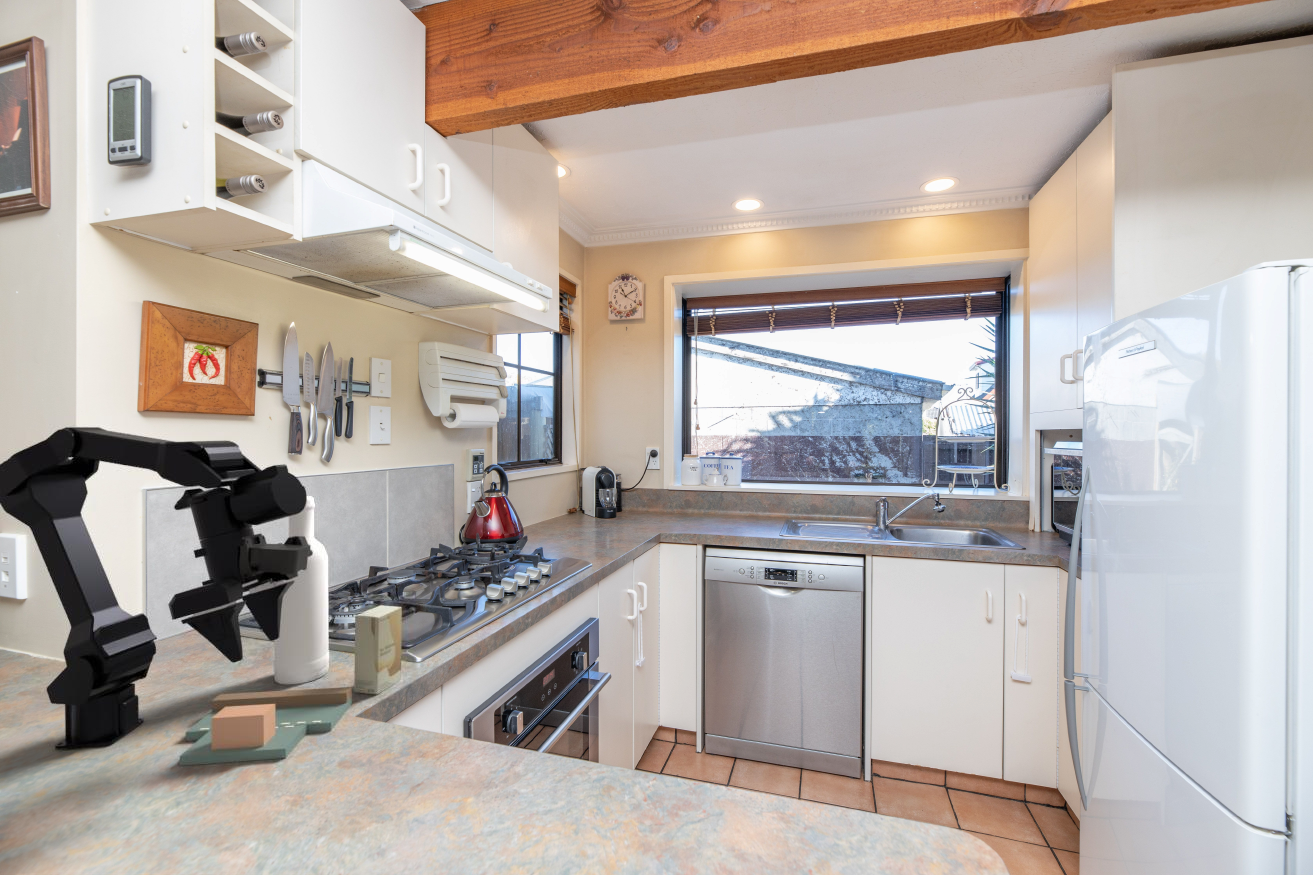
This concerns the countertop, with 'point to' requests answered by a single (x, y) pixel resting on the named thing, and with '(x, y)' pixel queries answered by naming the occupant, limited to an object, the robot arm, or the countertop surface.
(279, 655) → the bottle
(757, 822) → the countertop surface
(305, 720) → the dashed green plate
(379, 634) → the skincare box
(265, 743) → the stub
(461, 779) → the countertop surface
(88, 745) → the robot arm
